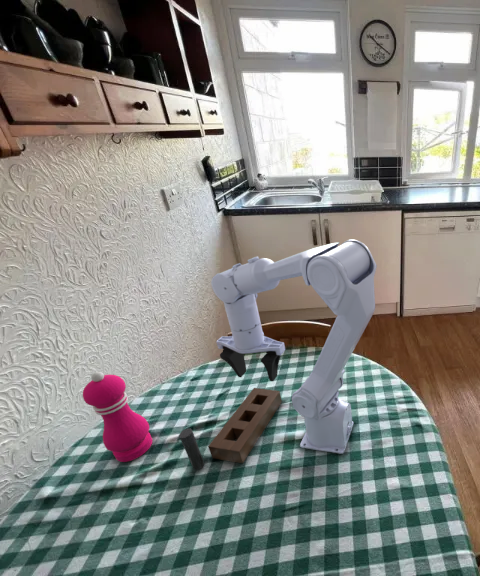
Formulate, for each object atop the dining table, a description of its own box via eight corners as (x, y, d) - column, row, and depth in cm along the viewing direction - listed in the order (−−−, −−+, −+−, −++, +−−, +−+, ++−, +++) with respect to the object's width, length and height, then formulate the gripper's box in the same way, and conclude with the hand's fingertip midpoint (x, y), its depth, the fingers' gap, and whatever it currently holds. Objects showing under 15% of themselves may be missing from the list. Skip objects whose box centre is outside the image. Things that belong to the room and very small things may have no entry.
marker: (207, 461, 62) (194, 429, 58) (199, 471, 60) (186, 438, 56) (197, 459, 62) (184, 427, 59) (190, 469, 61) (176, 437, 57)
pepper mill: (133, 467, 61) (91, 389, 53) (103, 461, 62) (57, 384, 54) (163, 436, 67) (130, 362, 59) (136, 431, 69) (99, 358, 60)
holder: (282, 401, 76) (279, 390, 75) (242, 463, 62) (239, 451, 60) (256, 398, 77) (253, 387, 76) (212, 458, 63) (207, 446, 61)
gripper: (287, 316, 66) (296, 367, 72) (226, 311, 68) (239, 361, 74) (270, 335, 60) (281, 389, 65) (203, 328, 62) (219, 381, 68)
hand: (258, 376), depth 69 cm, fingers open, 7 cm apart
